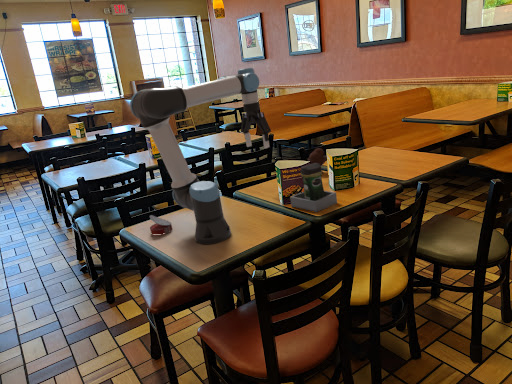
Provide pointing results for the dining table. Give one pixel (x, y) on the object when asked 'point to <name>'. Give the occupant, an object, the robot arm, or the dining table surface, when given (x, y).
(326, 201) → the open box
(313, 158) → the ice cream bowl
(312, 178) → the coffee jar
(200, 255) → the dining table surface
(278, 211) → the dining table surface
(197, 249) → the dining table surface
